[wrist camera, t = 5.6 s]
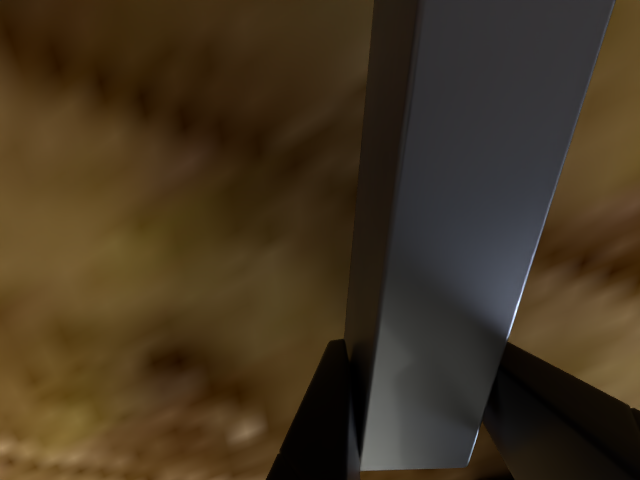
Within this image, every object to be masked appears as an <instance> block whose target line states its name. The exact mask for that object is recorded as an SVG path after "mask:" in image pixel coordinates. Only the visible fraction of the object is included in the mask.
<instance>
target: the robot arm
mask: <svg viewBox="0 0 640 480" xmlns="http://www.w3.org/2000/svg"><path fill="white" fill-rule="evenodd" d="M482 422H483V424H484V426H485V427H486V429H487V431H488V433H489V435H490V436H491V438H492V440H493V442H494V444H495V445H496V447H497V449H498V451H499V453H500V454H501V456H502V458H503V460H504V462H505V463H506V465H507V467H508V469H509V471H510V472H511V474H512V476H513V478H514V479H510V480H640V411H639V410H637V409H635V408H630V406H629V405H627V404H625V403H624V402H622V401H620V400H618V399H616V398H614V397H612V396H610V395H608V394H606V393H604V392H603V391H601V390H599V389H597V388H595V387H593V386H591V385H589V384H587V383H585V382H583V381H582V380H580V379H578V378H576V377H574V376H572V375H570V374H568V373H566V372H564V371H562V370H561V369H559V368H557V367H555V366H553V365H551V364H549V363H547V362H545V361H543V360H542V359H540V358H538V357H536V356H534V355H532V354H530V353H528V352H526V351H524V350H522V349H521V348H519V347H517V346H515V345H513V344H511V343H509V342H507V344H506V347H505V350H504V354H503V357H502V360H501V363H500V365H499V367H498V371H497V376H496V379H495V382H494V385H493V388H492V391H491V395H490V398H489V401H488V404H487V407H486V410H485V413H484V417H483V420H482ZM266 480H360V461H359V447H358V430H357V418H356V410H355V402H354V394H353V386H352V378H351V370H350V364H349V358H348V353H347V347H346V342H345V340H344V339H339V340H332V341H330V342H329V343H328V345H327V347H326V349H325V352H324V354H323V356H322V358H321V360H320V363H319V365H318V367H317V369H316V371H315V374H314V376H313V378H312V380H311V382H310V385H309V387H308V389H307V391H306V393H305V396H304V398H303V400H302V402H301V404H300V406H299V409H298V411H297V413H296V415H295V417H294V420H293V422H292V424H291V426H290V428H289V431H288V433H287V435H286V437H285V439H284V442H283V444H282V446H281V448H280V453H279V454H277V457H276V459H275V461H274V463H273V465H272V467H271V470H270V472H269V474H268V476H267V478H266Z"/></svg>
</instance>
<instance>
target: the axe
mask: <svg viewBox="0 0 640 480" xmlns="http://www.w3.org/2000/svg"><path fill="white" fill-rule="evenodd" d="M615 1H616V0H374V8H373V19H372V30H371V41H370V53H369V64H368V75H367V86H366V97H365V109H364V120H363V131H362V142H361V153H360V165H359V176H358V187H357V198H356V209H355V221H354V232H353V243H352V254H351V265H350V277H349V288H348V299H347V310H346V321H345V333H344V340H345V342H346V347H347V353H348V358H349V364H350V370H351V378H352V386H353V394H354V402H355V410H356V418H357V430H358V447H359V461H360V471H378V470H407V469H437V468H465V467H467V466H468V464H469V461H470V457H471V454H472V451H473V448H474V445H475V442H476V439H477V435H478V432H479V429H480V426H481V423H482V420H483V417H484V413H485V410H486V407H487V404H488V401H489V398H490V395H491V391H492V388H493V385H494V382H495V379H496V376H497V371H498V367H499V365H500V363H501V360H502V357H503V354H504V350H505V347H506V344H507V341H508V338H509V335H510V332H511V328H512V325H513V322H514V319H515V316H516V313H517V309H518V306H519V303H520V300H521V297H522V294H523V291H524V287H525V284H526V281H527V278H528V275H529V272H530V269H531V265H532V262H533V259H534V256H535V253H536V250H537V247H538V243H539V240H540V237H541V234H542V231H543V228H544V224H545V221H546V218H547V215H548V212H549V209H550V206H551V202H552V199H553V196H554V193H555V190H556V187H557V184H558V180H559V177H560V174H561V171H562V168H563V165H564V161H565V158H566V155H567V152H568V149H569V146H570V143H571V139H572V136H573V133H574V130H575V127H576V124H577V121H578V117H579V114H580V111H581V108H582V105H583V102H584V99H585V95H586V92H587V89H588V86H589V83H590V80H591V76H592V73H593V70H594V67H595V64H596V61H597V58H598V54H599V51H600V48H601V45H602V42H603V39H604V36H605V32H606V29H607V26H608V23H609V20H610V17H611V13H612V10H613V7H614V4H615Z"/></svg>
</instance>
